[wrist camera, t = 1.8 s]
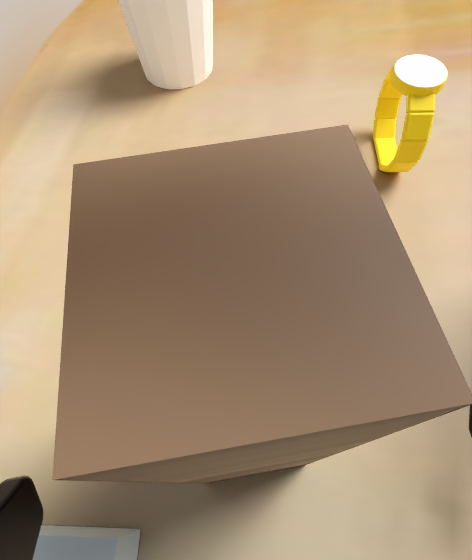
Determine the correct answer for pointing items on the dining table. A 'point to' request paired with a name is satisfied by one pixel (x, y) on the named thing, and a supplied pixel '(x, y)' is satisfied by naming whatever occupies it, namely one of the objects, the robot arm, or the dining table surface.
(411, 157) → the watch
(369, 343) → the tall wooden post
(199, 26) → the white cup
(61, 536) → the frame
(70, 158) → the dining table surface
